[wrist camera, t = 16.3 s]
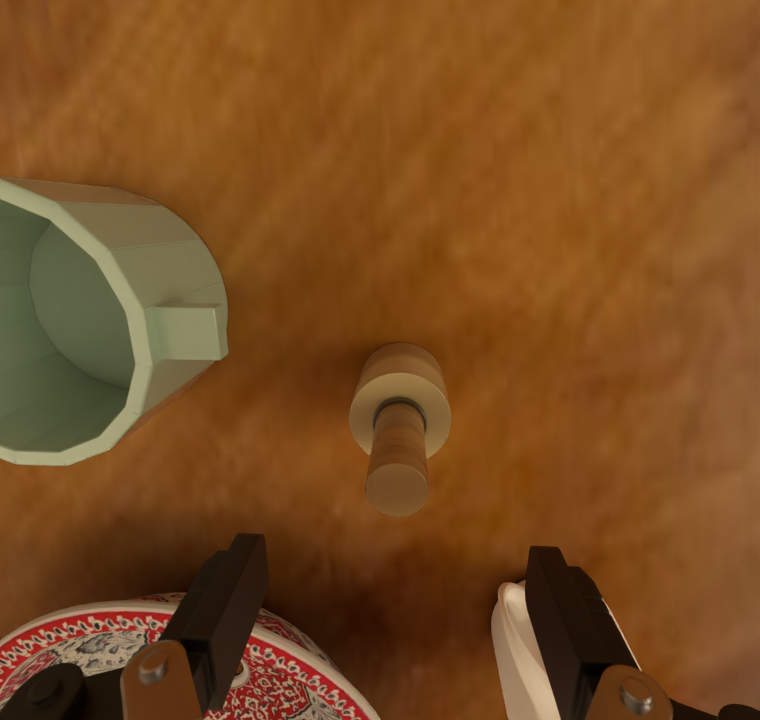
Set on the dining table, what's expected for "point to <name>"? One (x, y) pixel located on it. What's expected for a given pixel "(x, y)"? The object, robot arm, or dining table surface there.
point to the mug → (522, 658)
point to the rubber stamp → (399, 425)
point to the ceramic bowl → (145, 625)
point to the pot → (97, 317)
